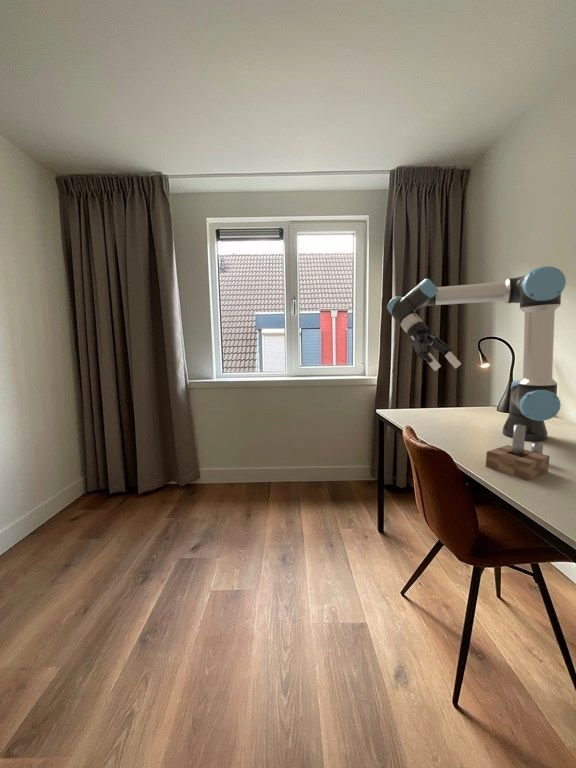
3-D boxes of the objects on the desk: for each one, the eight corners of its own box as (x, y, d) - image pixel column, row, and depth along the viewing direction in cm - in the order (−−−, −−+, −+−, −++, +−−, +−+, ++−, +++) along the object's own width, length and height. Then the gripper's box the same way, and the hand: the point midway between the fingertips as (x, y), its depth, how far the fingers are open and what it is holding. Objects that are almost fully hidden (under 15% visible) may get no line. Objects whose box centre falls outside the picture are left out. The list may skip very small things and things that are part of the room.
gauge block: (506, 459, 112) (507, 445, 111) (548, 471, 102) (549, 456, 101) (485, 466, 106) (486, 451, 105) (527, 480, 96) (528, 463, 95)
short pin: (533, 459, 112) (534, 442, 111) (543, 462, 109) (545, 444, 108) (528, 461, 110) (530, 443, 109) (538, 464, 108) (540, 446, 107)
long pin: (513, 466, 106) (517, 423, 104) (523, 469, 103) (527, 425, 101) (508, 468, 104) (511, 425, 102) (518, 471, 102) (522, 427, 100)
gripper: (426, 334, 143) (459, 371, 133) (388, 334, 129) (421, 376, 119) (439, 320, 138) (473, 358, 128) (400, 320, 124) (435, 362, 114)
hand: (448, 367), depth 124 cm, fingers open, 13 cm apart
